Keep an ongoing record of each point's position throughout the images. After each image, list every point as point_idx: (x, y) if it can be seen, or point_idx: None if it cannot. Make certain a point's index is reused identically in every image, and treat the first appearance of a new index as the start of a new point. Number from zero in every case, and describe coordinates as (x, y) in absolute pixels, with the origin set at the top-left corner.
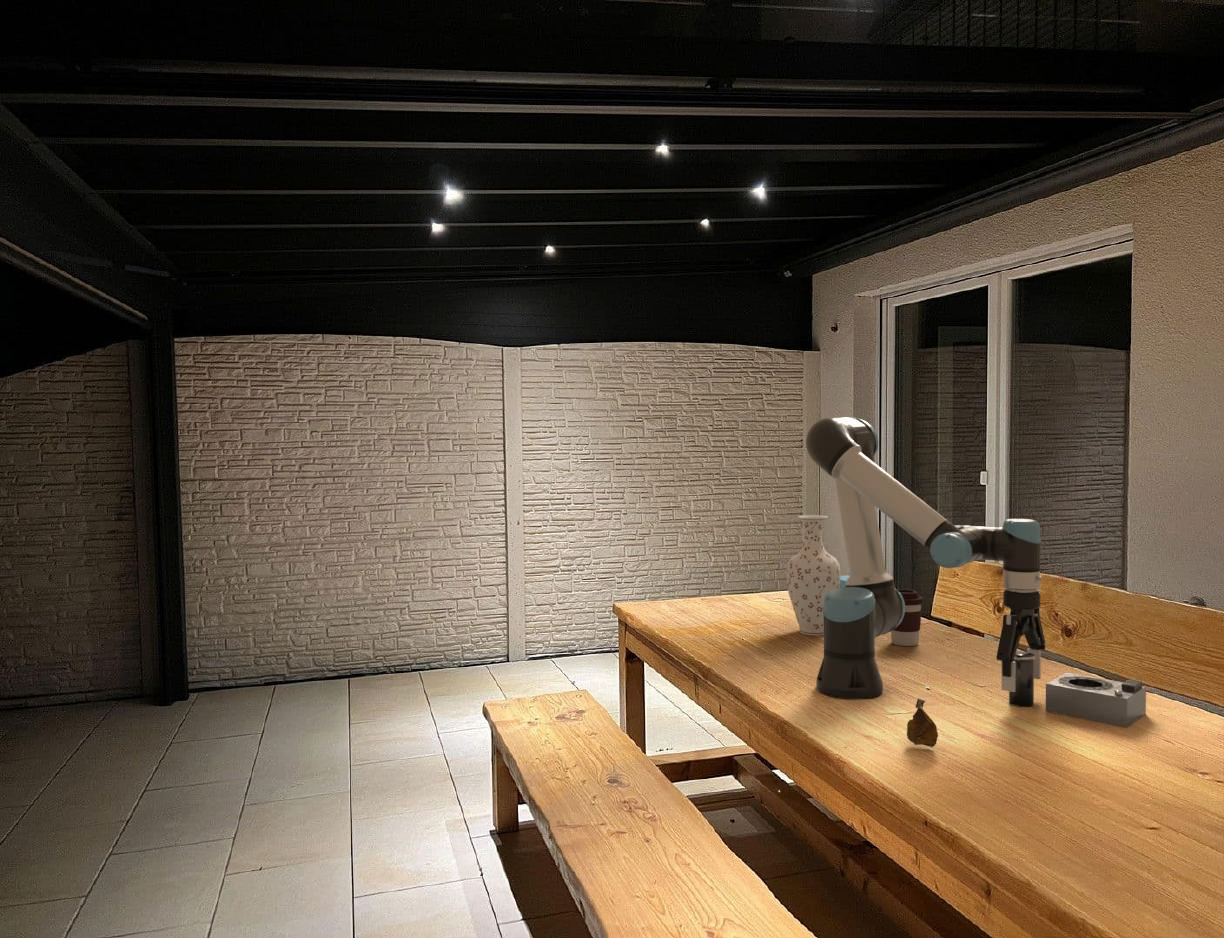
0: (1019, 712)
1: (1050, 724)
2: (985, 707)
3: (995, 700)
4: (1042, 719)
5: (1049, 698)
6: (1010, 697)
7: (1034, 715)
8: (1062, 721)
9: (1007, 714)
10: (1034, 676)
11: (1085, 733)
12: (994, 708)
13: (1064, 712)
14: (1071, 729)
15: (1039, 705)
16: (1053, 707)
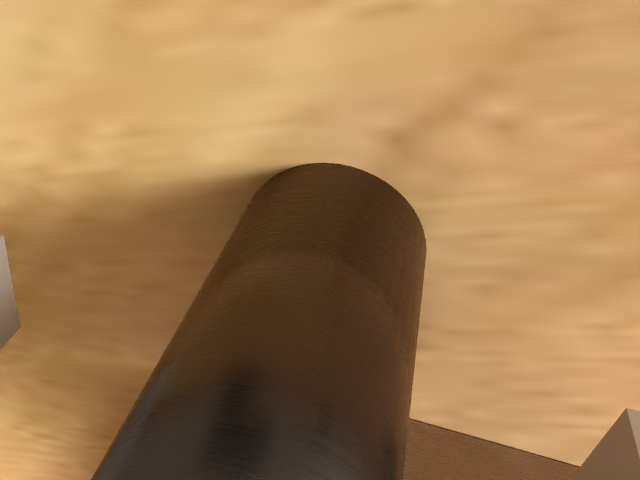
0: (104, 248)
1: (26, 381)
2: (30, 9)
3: (297, 49)
4: (74, 354)
5: None
6: (257, 206)
7: (112, 321)
8: (116, 424)
9: (3, 187)
10: (592, 474)
11: (27, 476)
12: (62, 84)
13: None
14: (32, 443)
15: None
16: None
